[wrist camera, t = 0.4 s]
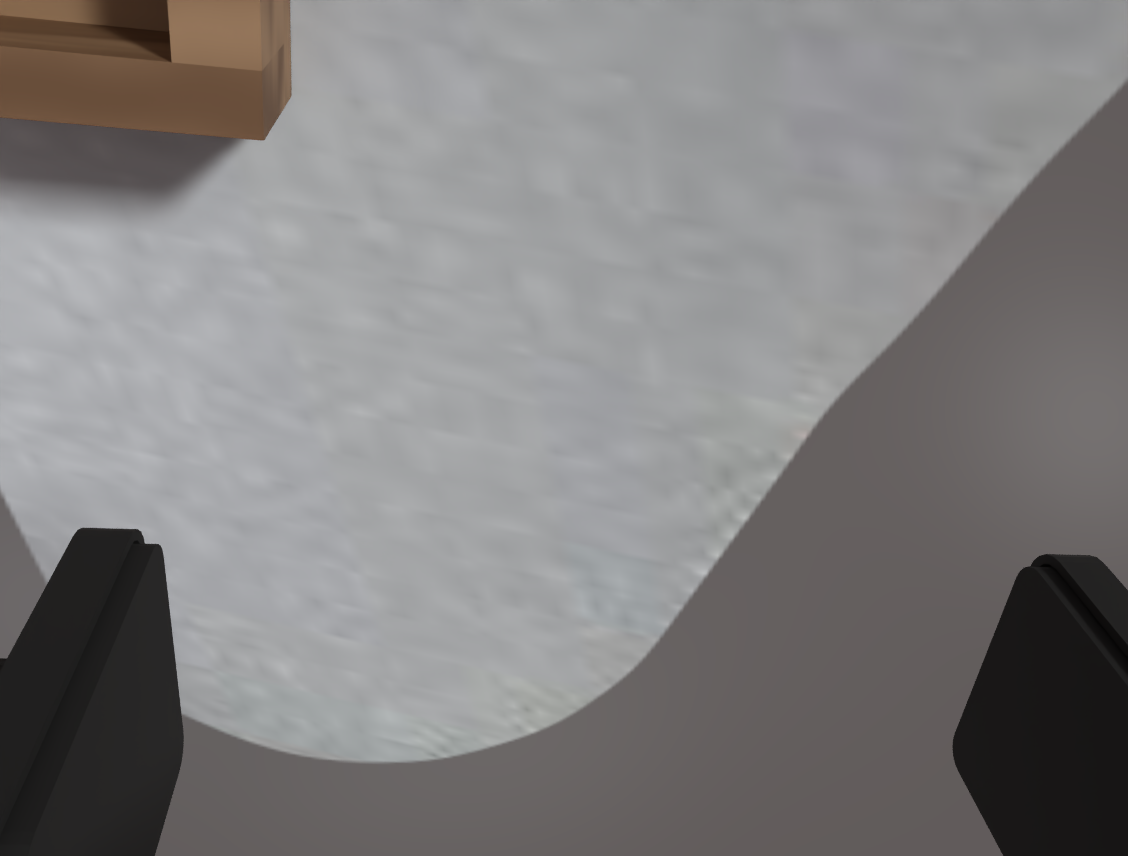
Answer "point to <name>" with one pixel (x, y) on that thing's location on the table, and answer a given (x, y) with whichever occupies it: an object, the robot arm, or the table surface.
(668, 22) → the table surface
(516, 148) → the table surface
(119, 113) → the block
